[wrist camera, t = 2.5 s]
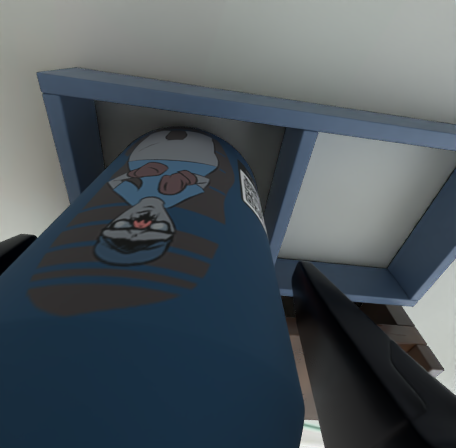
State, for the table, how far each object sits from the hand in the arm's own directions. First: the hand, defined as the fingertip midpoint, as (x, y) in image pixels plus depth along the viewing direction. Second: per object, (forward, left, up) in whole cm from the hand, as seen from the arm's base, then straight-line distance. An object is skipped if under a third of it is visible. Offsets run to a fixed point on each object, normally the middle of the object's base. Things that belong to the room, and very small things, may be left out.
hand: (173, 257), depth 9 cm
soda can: (0, 0, -6) cm, 6 cm away
